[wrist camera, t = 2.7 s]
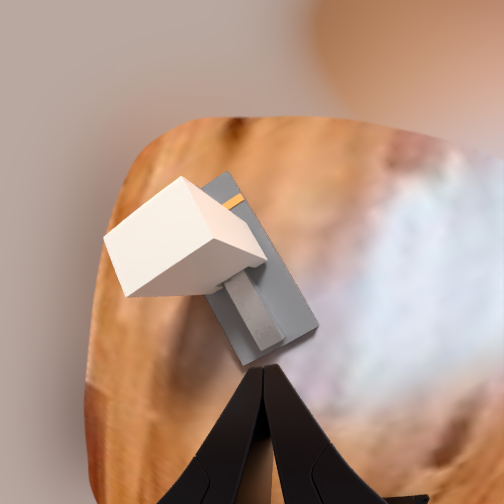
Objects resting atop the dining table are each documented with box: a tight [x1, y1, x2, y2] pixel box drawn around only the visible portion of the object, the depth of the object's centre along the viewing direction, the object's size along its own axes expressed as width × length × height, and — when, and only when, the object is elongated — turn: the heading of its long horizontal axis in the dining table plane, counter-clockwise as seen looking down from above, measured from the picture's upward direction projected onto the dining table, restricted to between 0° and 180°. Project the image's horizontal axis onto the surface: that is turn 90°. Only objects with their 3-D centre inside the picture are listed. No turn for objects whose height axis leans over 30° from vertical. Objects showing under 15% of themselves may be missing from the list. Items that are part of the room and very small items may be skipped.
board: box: [202, 171, 319, 366], centre depth 21 cm, size 13×6×1 cm, turn 30°
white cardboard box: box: [103, 176, 268, 297], centre depth 16 cm, size 3×5×10 cm, turn 120°
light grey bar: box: [196, 185, 286, 351], centre depth 20 cm, size 12×2×2 cm, turn 30°
